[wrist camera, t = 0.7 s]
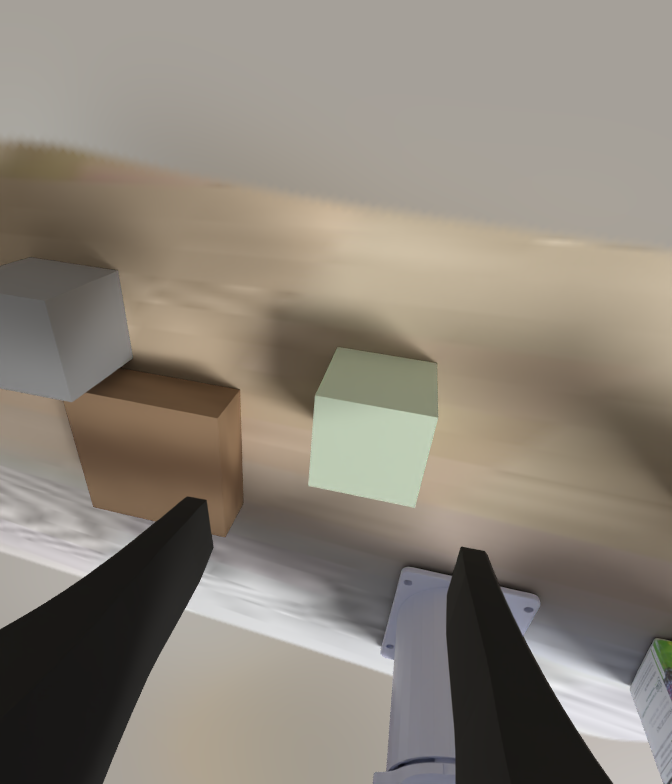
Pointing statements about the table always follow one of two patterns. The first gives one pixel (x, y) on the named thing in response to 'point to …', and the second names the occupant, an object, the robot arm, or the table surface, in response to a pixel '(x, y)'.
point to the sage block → (374, 426)
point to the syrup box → (656, 703)
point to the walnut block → (160, 445)
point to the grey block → (60, 327)
